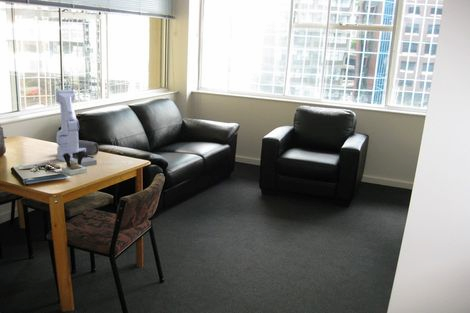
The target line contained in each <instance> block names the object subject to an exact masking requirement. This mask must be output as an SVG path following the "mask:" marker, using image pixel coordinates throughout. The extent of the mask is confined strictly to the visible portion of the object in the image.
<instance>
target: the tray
mask: <svg viewBox="0 0 470 313" xmlns="http://www.w3.org/2000/svg"><path fill="white" fill-rule="evenodd" d="M79 166H80V169H75V170H71V169H69V168H68V167H67V165H64V166H61V171H62V170H63V171H64V172H63V171H62V172H63V173H66V174H68V175H70V176H73V175H79V174H83V173H87V170H88V168H87V167H86V166H84V167H83V166H81V165H79Z"/></svg>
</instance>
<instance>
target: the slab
mask: <svg viewBox="0 0 470 313" xmlns="http://www.w3.org/2000/svg"><path fill="white" fill-rule="evenodd" d="M70 162H73V163H75V164H78V159H77V158H75V159H73V160H70ZM97 164H98V163H97V159H95V158H93V157H91V156H86V157H83V158H82V161H81V166H83V167H89V166H95V165H97Z"/></svg>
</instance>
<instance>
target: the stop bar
mask: <svg viewBox="0 0 470 313" xmlns="http://www.w3.org/2000/svg"><path fill="white" fill-rule="evenodd" d="M47 164H48V165H50V166H52V167H54V168H56V169H61V166H60V165H58V164H55V163H54V162H51V161H49V162H47V163H46V165H47Z"/></svg>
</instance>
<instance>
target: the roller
mask: <svg viewBox="0 0 470 313" xmlns="http://www.w3.org/2000/svg"><path fill="white" fill-rule="evenodd" d="M68 168H69V169H71V170H75V169H80V166H79V165H78V164H75V163H73V162H71V161H70V167H68Z"/></svg>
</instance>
